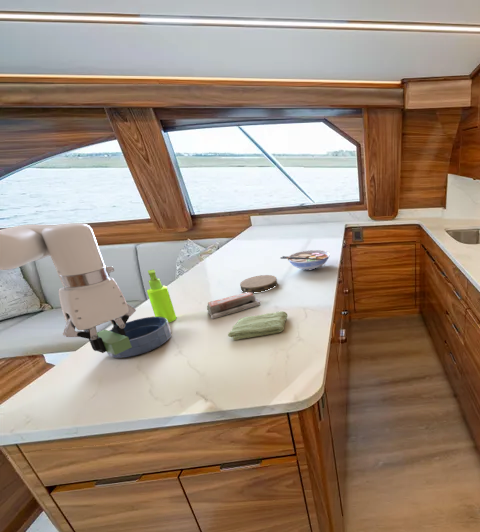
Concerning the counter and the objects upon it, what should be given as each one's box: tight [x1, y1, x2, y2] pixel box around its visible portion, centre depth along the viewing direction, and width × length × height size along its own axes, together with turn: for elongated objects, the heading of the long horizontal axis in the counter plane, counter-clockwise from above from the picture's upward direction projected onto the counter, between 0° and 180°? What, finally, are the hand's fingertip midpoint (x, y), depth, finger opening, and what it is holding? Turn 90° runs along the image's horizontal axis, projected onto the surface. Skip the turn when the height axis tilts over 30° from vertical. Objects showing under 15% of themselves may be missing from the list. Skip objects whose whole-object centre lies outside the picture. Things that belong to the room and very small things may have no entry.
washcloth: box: [227, 310, 288, 341], centre depth 105 cm, size 13×18×3 cm
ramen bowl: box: [280, 249, 331, 271], centre depth 166 cm, size 25×23×8 cm
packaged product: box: [206, 292, 261, 320], centre depth 121 cm, size 18×5×10 cm
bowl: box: [106, 316, 173, 358], centre depth 97 cm, size 16×16×6 cm
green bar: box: [97, 329, 132, 355], centre depth 73 cm, size 10×3×3 cm, turn 68°
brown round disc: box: [239, 274, 278, 294], centre depth 143 cm, size 16×16×3 cm
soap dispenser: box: [146, 268, 177, 323], centre depth 111 cm, size 6×7×20 cm
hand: (111, 346), depth 74 cm, fingers closed on green bar, 3 cm apart
